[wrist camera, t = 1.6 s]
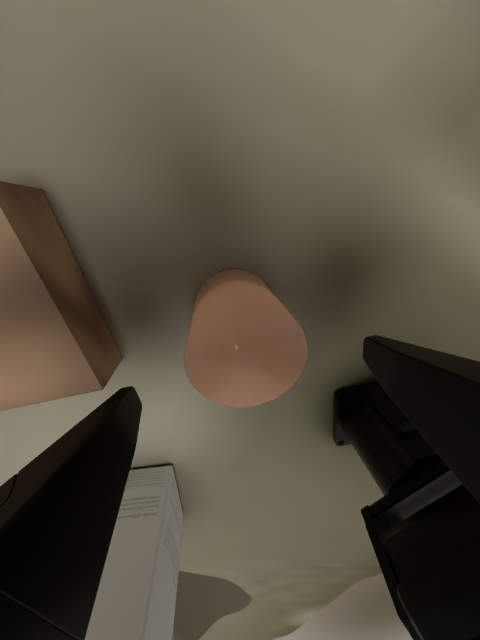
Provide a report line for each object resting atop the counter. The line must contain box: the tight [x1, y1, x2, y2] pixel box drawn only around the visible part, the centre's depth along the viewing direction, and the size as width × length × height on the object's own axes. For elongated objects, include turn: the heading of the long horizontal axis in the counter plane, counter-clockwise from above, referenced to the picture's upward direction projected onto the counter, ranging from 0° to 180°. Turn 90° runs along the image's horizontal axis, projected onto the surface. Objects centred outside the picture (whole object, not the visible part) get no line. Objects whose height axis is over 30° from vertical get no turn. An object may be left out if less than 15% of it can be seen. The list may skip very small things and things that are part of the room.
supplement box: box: [85, 465, 184, 640], centre depth 14 cm, size 9×9×15 cm
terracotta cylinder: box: [184, 269, 308, 407], centre depth 12 cm, size 5×5×6 cm
